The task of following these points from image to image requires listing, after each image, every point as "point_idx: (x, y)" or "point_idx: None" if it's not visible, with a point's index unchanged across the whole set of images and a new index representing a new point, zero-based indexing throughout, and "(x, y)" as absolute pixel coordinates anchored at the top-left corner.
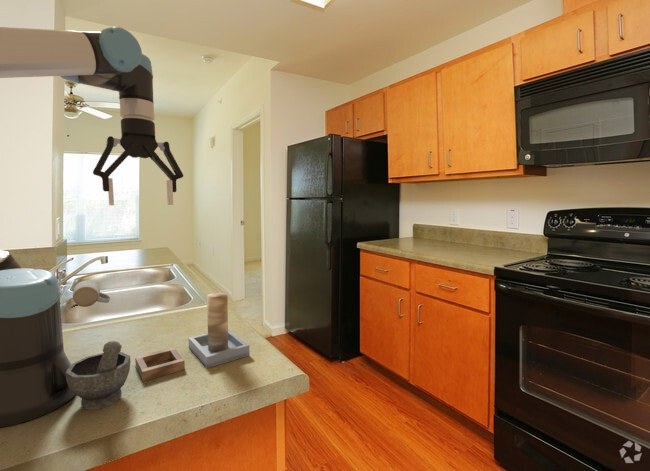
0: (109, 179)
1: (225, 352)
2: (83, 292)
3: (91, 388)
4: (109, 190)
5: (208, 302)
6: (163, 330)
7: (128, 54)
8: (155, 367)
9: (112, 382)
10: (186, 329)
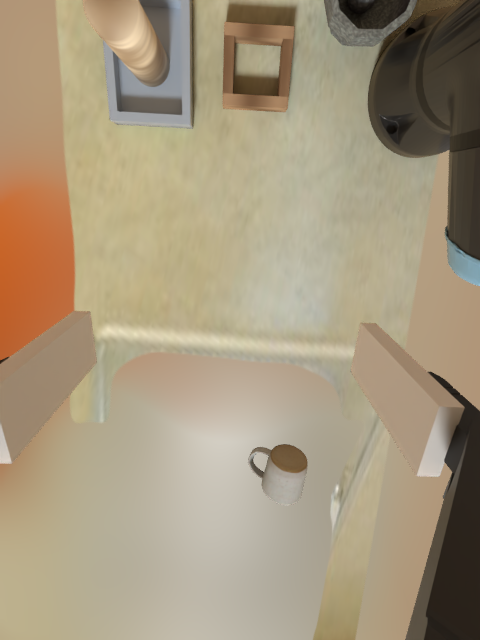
0: (454, 399)
1: None
2: (293, 463)
3: None
4: (412, 363)
5: (141, 9)
6: (208, 247)
7: None
8: (272, 29)
9: None
10: (172, 224)
